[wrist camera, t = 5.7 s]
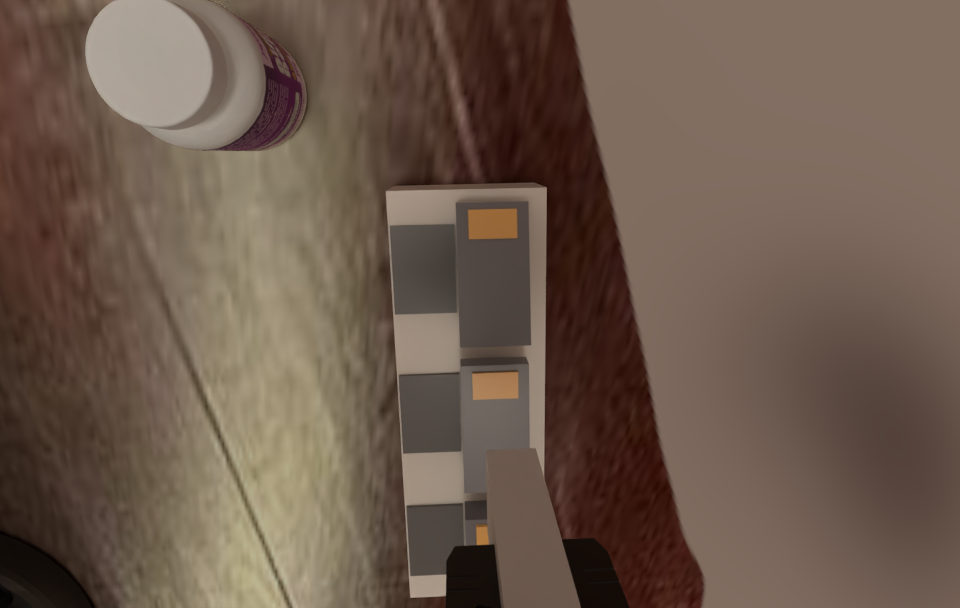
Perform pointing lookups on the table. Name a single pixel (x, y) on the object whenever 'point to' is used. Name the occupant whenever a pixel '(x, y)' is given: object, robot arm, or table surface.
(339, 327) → the table surface
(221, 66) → the pill bottle
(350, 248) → the table surface
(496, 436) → the rocker
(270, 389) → the table surface
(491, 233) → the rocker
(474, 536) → the block
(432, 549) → the power strip
